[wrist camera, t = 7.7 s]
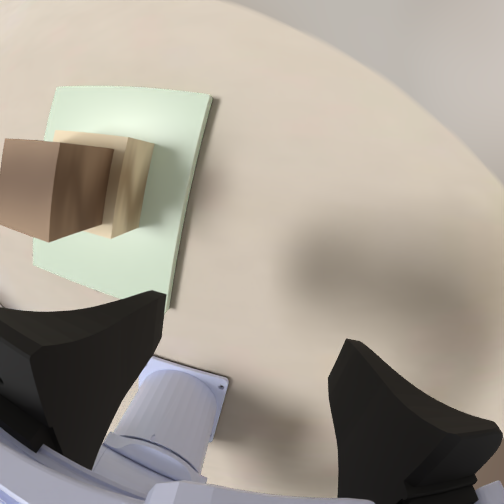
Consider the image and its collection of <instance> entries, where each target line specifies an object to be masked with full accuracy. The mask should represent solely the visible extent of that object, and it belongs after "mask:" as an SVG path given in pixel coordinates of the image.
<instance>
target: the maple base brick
mask: <svg viewBox="0 0 504 504" xmlns="http://www.w3.org/2000/svg"><path fill="white" fill-rule="evenodd" d="M53 142H62V143H71V144H80V145H88V146H96V147H104V148H111V149H114V153H113V158H112V163H111V168H110V174H109V180H108V186H107V192H106V198H105V205H104V213H103V221H102V225H99V226H96V227H93V228H90V229H87V230H84V231H85V232H89V233H92V234H95V235H99V236H102V237H106V238H109V239H112V238H115V237H117V236H119V235H122V234H124V233H127V232H129V231H132V230H134V229H136V228H139V222H140V216H141V210H142V204H143V198H144V192H145V187H146V182H147V177H148V172H149V167H150V162H151V158H152V153H153V149H154V145H155V144H154V143H150V142H146V141H142V140H138V139H134V138H130V137H123V136H115V135H106V134H97V133H87V132H76V131H63V130H55V133H54V138H53Z"/></svg>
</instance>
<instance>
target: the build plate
mask: <svg viewBox="0 0 504 504" xmlns="http://www.w3.org/2000/svg"><path fill="white" fill-rule="evenodd" d="M212 100H213V98H212V96H211V95H209V94H202V93H195V92H187V91H179V90H169V89H159V88H146V87H128V86H64V87H57V88H56V92H55V95H54V99H53V102H52V106H51V110H50V114H49V118H48V123H47V127H46V132H45V137H44V141H51V142H53V138H54V133H55V130H63V131H76V132H87V133H97V134H106V135H115V136H123V137H130V138H134V139H138V140H142V141H146V142H150V143H154V144H155V145H154V149H153V153H152V158H151V162H150V167H149V172H148V177H147V182H146V187H145V192H144V198H143V204H142V210H141V216H140V222H139V228H136V229H134V230H132V231H129V232H127V233H124V234H122V235H119V236H117V237H115V238H112V239H109V238H106V237H102V236H99V235H95V234H92V233H89V232H85V231H81V232H78V233H75V234H72V235H69V236H66V237H63V238H60V239H58V240H55V241H52V242H49V243H48V242H45V241H43V240H40V239H37V238H34V237H33V265H34V266H37V267H39V268H41V269H44V270H46V271H48V272H51V273H53V274H56V275H58V276H60V277H63V278H65V279H68V280H71V281H73V282H76V283H78V284H81V285H83V286H86V287H89V288H91V289H94V290H97V291H100V292H102V293H105V294H108V295H111V296H113V297H116V298H119V299H124V298H127V297H130V296H133V295H136V294H139V293H143V292H146V291H150V290H154V291H157V292H160V293H164V294H167V296H166V303H165V311H164V313H166V312H167V311H168V309H169V307H170V300H171V293H172V287H173V280H174V274H175V268H176V262H177V256H178V250H179V245H180V239H181V234H182V229H183V223H184V218H185V213H186V208H187V203H188V199H189V194H190V189H191V185H192V180H193V176H194V171H195V167H196V163H197V158H198V154H199V150H200V146H201V142H202V138H203V134H204V130H205V126H206V122H207V119H208V115H209V111H210V107H211V104H212Z"/></svg>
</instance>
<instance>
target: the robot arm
mask: <svg viewBox="0 0 504 504" xmlns="http://www.w3.org/2000/svg"><path fill="white" fill-rule="evenodd" d="M166 296H167V294H164V293H160V292H157V291H154V290H150V291H146V292H143V293H139V294H136V295H133V296H130V297H127V298H124V299H121V300H118V301H114V302H110V303H107V304H103V305H99V306H95V307H90V308H85V309H78V310H71V311H55V312H33V311H21V310H14V309H8V308H2V307H0V503H1V504H504V488H503V486H502V484H501V482H500V481H495V482H492V483H490V484H487V485H484V486H482V487H480V488H478V489H477V490H474V488H473V484H475V483H476V482H477V478H476V476H475V473H476V472H477V471H478V470H479V469H480V468H481V467H482V466H483V465H484V464H485V463H486V462H487V461H488V460H489V459H490V457H492V455H493V454H494V453H495V452H496V451H497V449H498V447H499V446H500V444H501V441H502V438H503V433H502V432H501V430H500V429H499V427H498V426H497V424H496V423H495V422H493V421H490V420H486V419H482V418H479V417H475V416H472V415H469V414H466V413H464V412H461V411H458V410H456V409H454V408H451V407H449V406H447V405H445V404H443V403H441V402H439V401H437V400H436V399H434V398H432V397H430V396H429V395H427V394H425V393H424V392H422V391H421V390H419V389H418V388H416V387H415V386H414V385H412V384H411V383H409V382H408V381H407V380H406V379H404V378H403V377H402V376H401V375H399V374H398V373H397V372H396V371H395V370H393V369H392V368H391V367H390V366H389V365H388V364H387V363H385V362H384V361H383V360H382V359H381V358H380V357H379V356H378V355H376V354H375V353H374V352H373V351H372V350H371V349H370V348H368V347H367V346H366V345H365V344H363V343H362V342H360V341H356V340H351V339H346V340H345V343H344V345H343V347H342V349H341V352H340V354H339V356H338V358H337V360H336V362H335V365H334V367H333V369H332V371H331V373H330V375H329V377H328V392H329V402H330V408H331V413H332V418H333V423H334V429H335V434H336V439H337V447H338V468H339V473H338V498H311V497H294V496H283V495H273V494H265V493H258V492H251V491H245V490H239V489H233V488H228V487H223V486H218V485H214V484H206V482H207V477H204V476H202V475H201V471H202V467H203V463H204V459H205V455H206V451H207V447H208V443H209V442H212V441H213V437H214V434H215V430H216V427H217V423H218V419H219V416H220V412H221V409H222V405H223V402H224V398H225V394H226V391H227V387H228V383H229V380H228V379H227V378H226V377H223V376H219V375H215V374H211V373H207V372H204V371H200V370H197V369H193V368H190V367H186V366H183V365H180V364H177V363H173V362H170V361H167V360H164V359H161V358H158V357H155V356H153V354H154V352H155V350H156V348H157V346H158V344H159V342H160V340H161V337H162V328H163V319H164V311H165V303H166ZM138 376H139V390H138V391H137V393H136V395H135V396H134V398H133V400H132V401H131V403H130V405H129V406H128V408H127V410H126V411H125V413H124V415H123V417H122V418H121V420H120V422H119V423H118V425H117V427H116V428H115V430H114V432H110V433H109V434H108V436H107V438H106V439H105V441H104V443H103V444H102V442H103V440H104V437H105V435H106V433H107V431H108V429H109V426H110V424H111V422H112V420H113V418H114V416H115V414H116V412H117V410H118V408H119V406H120V404H121V402H122V400H123V398H124V397H125V395H126V394H127V392H128V391H129V389H130V388H131V386H132V385H133V383H134V382H135V380H136V379H137V378H138ZM220 385H222V386H224V387H220Z"/></svg>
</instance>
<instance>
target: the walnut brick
mask: <svg viewBox="0 0 504 504" xmlns="http://www.w3.org/2000/svg"><path fill="white" fill-rule="evenodd" d="M113 153H114V149H111V148H104V147H96V146H88V145H80V144H71V143H62V142H51V141H38V140H24V139H5V142H4V148H3V155H2V162H1V170H0V225H3V226H5V227H8V228H10V229H13V230H16V231H18V232H21V233H24V234H26V235H29V236H32V237H34V238H37V239H40V240H43V241H45V242H48V243H49V242H52V241H55V240H58V239H60V238H63V237H66V236H69V235H72V234H75V233H78V232H81V231H84V230H87V229H90V228H93V227H96V226H99V225H102V221H103V213H104V205H105V198H106V192H107V186H108V180H109V174H110V168H111V163H112V158H113Z"/></svg>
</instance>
